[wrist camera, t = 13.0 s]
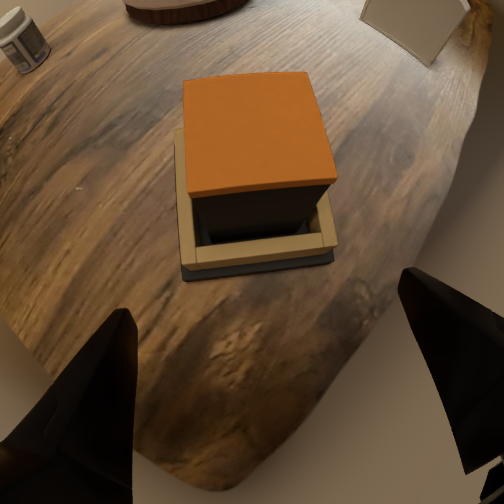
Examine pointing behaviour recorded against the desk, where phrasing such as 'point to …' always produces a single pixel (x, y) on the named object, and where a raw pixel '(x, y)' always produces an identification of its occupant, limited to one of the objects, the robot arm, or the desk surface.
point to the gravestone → (416, 23)
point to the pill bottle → (22, 41)
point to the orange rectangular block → (254, 153)
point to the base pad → (246, 250)
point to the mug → (178, 10)
